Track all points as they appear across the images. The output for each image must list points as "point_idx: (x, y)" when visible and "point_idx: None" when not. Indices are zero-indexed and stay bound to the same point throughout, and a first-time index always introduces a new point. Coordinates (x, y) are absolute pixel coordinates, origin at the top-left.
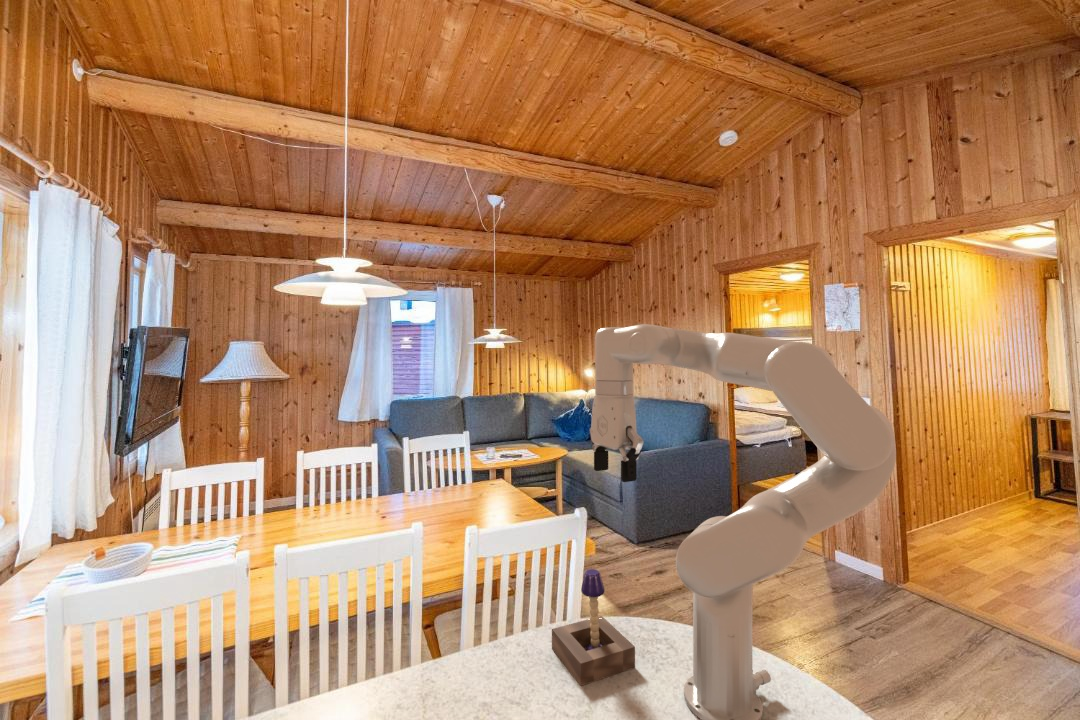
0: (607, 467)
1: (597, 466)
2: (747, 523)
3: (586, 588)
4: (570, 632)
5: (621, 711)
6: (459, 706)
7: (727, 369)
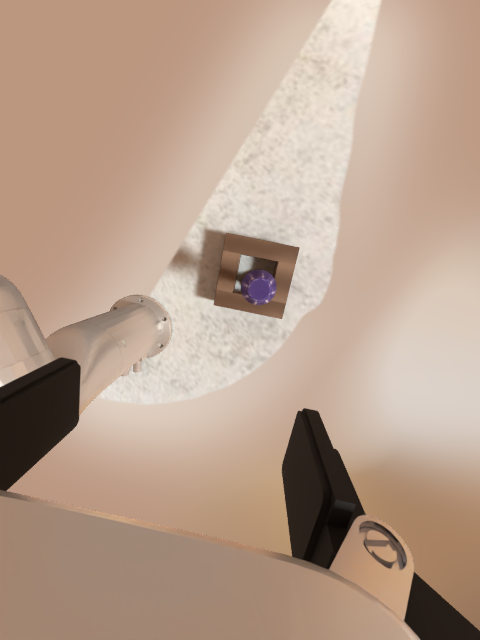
0: (284, 472)
1: (301, 429)
2: None
3: (255, 271)
4: (278, 262)
5: (181, 244)
6: (280, 98)
7: None
